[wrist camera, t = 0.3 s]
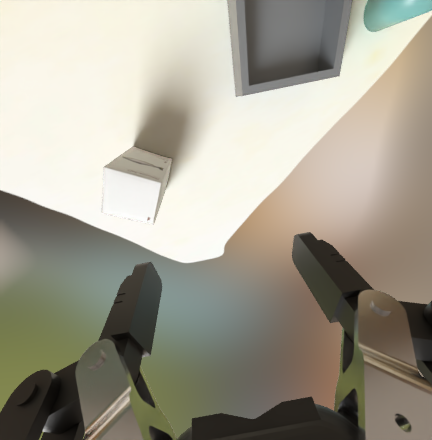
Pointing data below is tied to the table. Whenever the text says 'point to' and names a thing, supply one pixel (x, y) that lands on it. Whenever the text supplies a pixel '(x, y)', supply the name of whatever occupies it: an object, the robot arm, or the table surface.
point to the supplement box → (135, 185)
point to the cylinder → (392, 12)
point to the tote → (286, 42)
